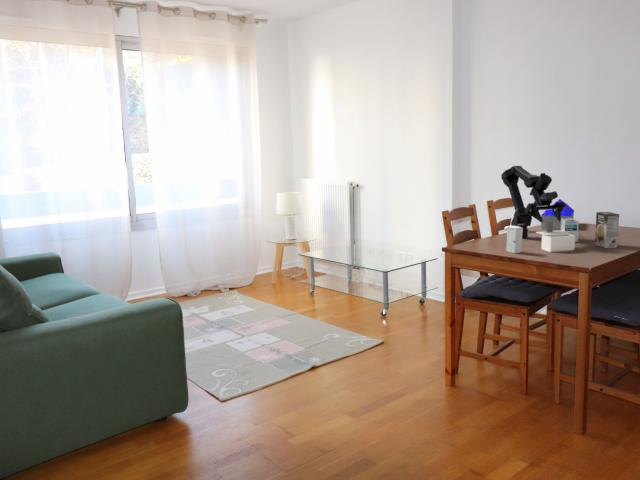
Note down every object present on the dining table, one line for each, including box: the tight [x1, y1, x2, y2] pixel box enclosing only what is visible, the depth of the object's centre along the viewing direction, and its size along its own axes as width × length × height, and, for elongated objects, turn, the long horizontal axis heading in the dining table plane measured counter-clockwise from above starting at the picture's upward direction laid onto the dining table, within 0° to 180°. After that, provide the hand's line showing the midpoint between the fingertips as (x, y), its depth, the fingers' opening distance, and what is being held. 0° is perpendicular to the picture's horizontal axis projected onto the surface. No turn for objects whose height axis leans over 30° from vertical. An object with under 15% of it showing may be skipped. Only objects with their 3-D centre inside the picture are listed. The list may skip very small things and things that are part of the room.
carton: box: [540, 234, 576, 253], centre depth 269 cm, size 8×12×7 cm, turn 98°
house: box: [540, 198, 575, 231], centre depth 335 cm, size 25×16×16 cm, turn 153°
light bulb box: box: [560, 218, 580, 243], centre depth 291 cm, size 11×7×11 cm, turn 168°
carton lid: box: [535, 221, 570, 236], centre depth 273 cm, size 8×12×5 cm
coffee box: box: [594, 211, 620, 249], centre depth 273 cm, size 9×6×16 cm
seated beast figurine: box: [504, 210, 515, 231], centre depth 324 cm, size 10×9×12 cm
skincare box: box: [505, 225, 523, 254], centre depth 267 cm, size 6×4×12 cm
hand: (551, 221), depth 274 cm, fingers open, 9 cm apart
